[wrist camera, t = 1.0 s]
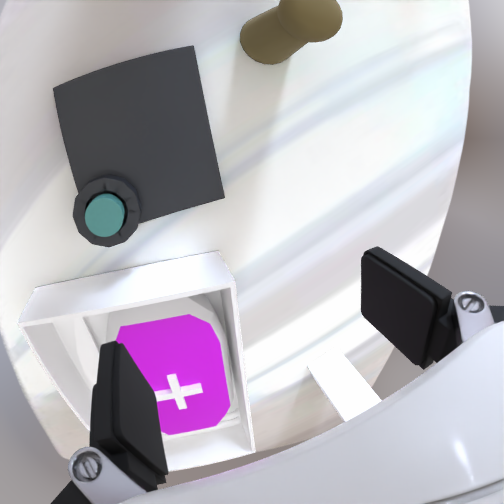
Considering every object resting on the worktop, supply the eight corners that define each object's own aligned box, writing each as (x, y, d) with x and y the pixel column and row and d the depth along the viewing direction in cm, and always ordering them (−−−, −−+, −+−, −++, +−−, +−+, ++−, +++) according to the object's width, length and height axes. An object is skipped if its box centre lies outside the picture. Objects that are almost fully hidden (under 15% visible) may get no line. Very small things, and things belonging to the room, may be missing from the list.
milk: (306, 365, 46) (376, 467, 27) (336, 345, 47) (415, 440, 28) (315, 381, 50) (379, 474, 30) (343, 363, 50) (413, 450, 31)
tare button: (83, 200, 24) (79, 205, 22) (118, 188, 24) (116, 192, 23) (95, 235, 25) (92, 242, 24) (129, 223, 26) (128, 230, 25)
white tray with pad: (128, 444, 42) (131, 477, 36) (35, 287, 27) (16, 324, 21) (243, 422, 48) (256, 453, 42) (218, 250, 33) (236, 282, 27)
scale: (49, 92, 20) (39, 89, 18) (192, 48, 23) (196, 40, 21) (92, 243, 28) (87, 254, 25) (223, 202, 31) (231, 209, 28)
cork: (256, 72, 26) (308, 51, 17) (229, 26, 23) (269, -17, 14) (302, 54, 27) (365, 33, 17) (278, 9, 24) (332, -27, 14)
